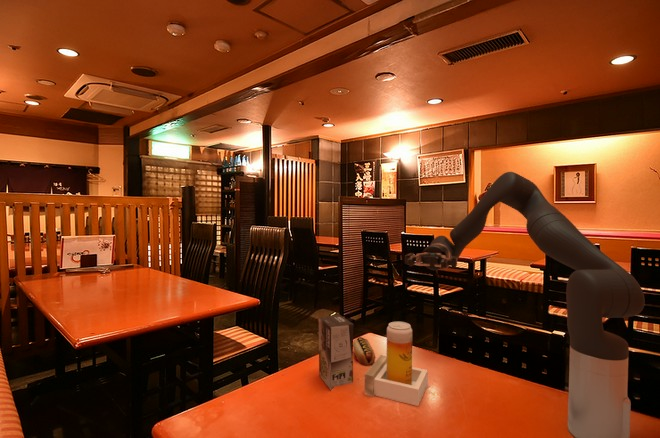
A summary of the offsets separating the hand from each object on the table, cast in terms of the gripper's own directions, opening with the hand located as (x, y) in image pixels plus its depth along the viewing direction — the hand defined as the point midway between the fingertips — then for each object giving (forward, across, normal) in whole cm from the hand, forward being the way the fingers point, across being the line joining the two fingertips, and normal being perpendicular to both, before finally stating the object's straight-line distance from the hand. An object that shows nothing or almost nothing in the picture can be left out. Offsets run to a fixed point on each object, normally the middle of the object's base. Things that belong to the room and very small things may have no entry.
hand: (426, 263), depth 97 cm
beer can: (+14, -3, +28) cm, 32 cm away
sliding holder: (+14, -3, +29) cm, 32 cm away
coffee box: (+15, -20, +30) cm, 39 cm away
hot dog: (0, -18, +30) cm, 35 cm away
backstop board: (+14, 0, +30) cm, 33 cm away
